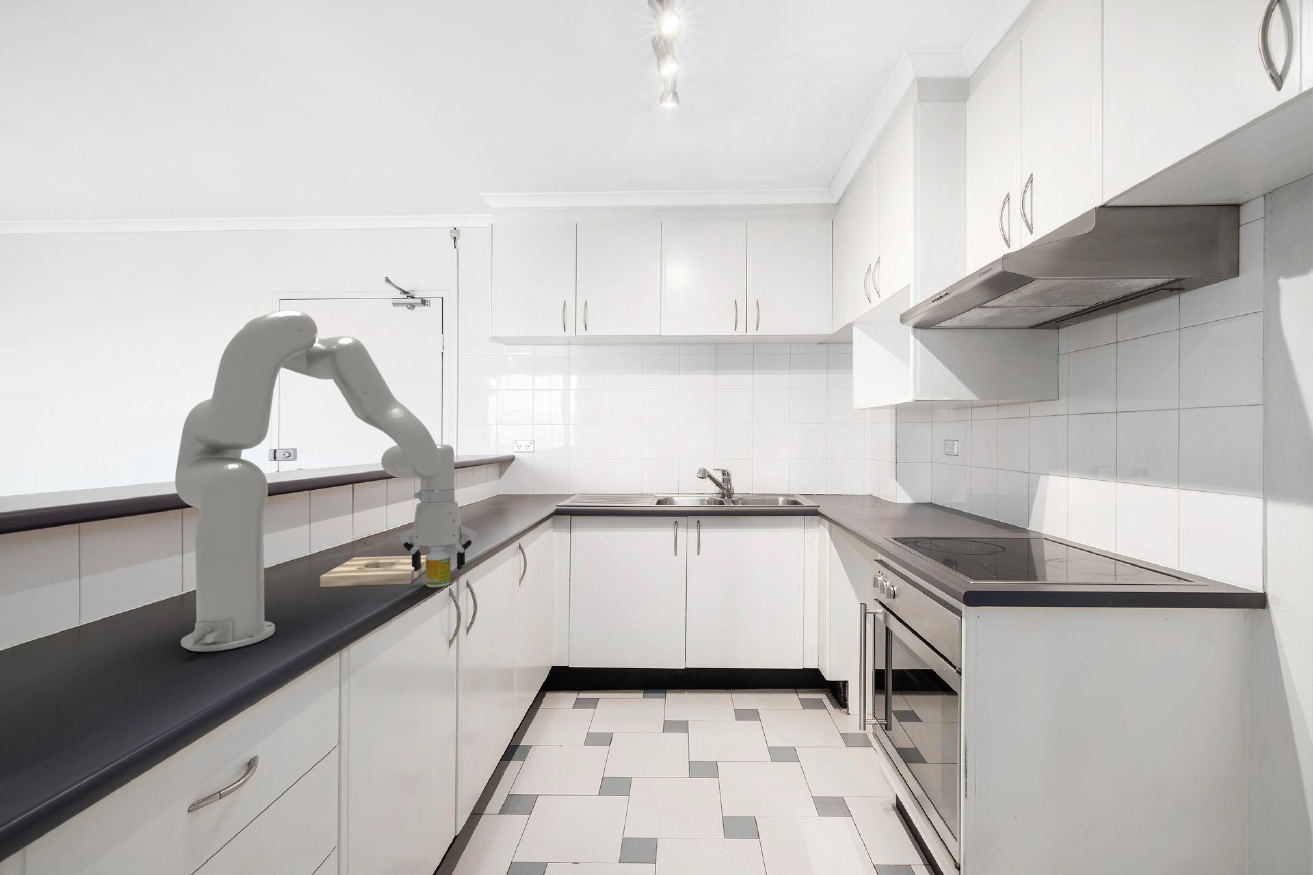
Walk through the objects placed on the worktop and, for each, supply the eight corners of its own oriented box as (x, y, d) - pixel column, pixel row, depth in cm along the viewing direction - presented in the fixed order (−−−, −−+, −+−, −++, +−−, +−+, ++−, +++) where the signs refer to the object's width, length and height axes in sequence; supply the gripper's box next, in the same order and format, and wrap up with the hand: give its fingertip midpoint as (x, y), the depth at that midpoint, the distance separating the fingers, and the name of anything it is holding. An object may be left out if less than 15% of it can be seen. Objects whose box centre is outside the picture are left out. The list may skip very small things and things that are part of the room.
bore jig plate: (409, 583, 136) (409, 573, 136) (320, 586, 133) (320, 576, 133) (431, 564, 156) (431, 555, 156) (354, 566, 153) (354, 557, 153)
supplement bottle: (442, 588, 132) (441, 546, 132) (421, 587, 133) (420, 545, 133) (455, 582, 137) (454, 541, 137) (434, 581, 138) (434, 541, 138)
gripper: (394, 499, 130) (395, 574, 130) (472, 497, 132) (473, 571, 132) (404, 495, 137) (405, 566, 138) (478, 494, 140) (479, 564, 140)
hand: (438, 569), depth 135 cm, fingers open, 9 cm apart
